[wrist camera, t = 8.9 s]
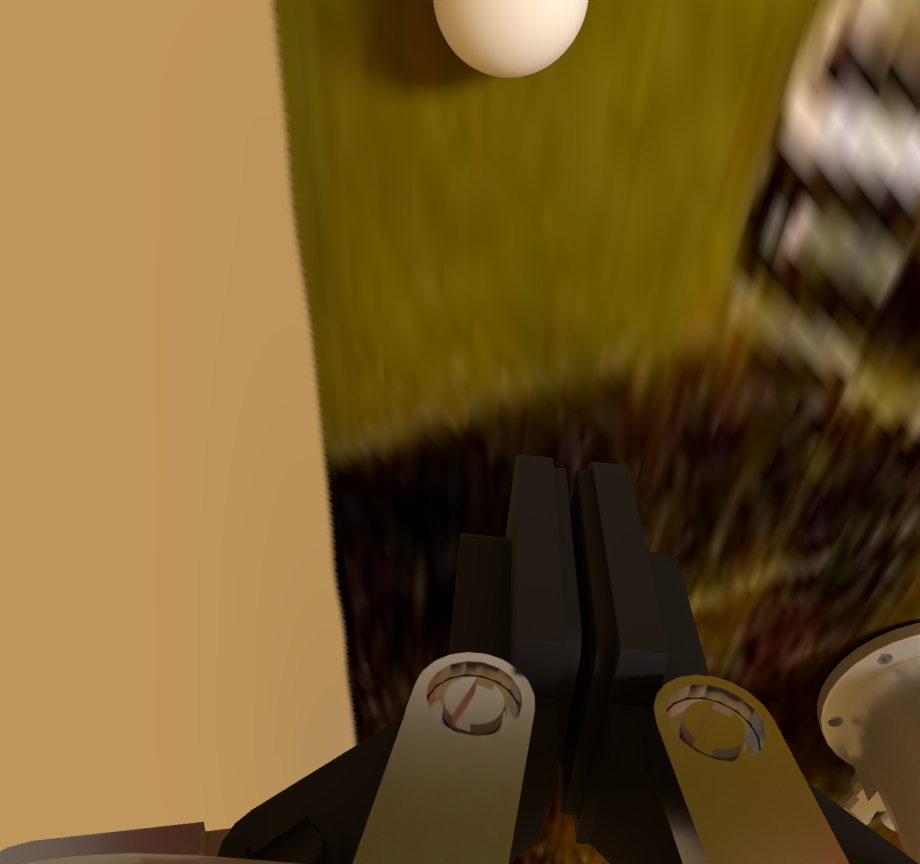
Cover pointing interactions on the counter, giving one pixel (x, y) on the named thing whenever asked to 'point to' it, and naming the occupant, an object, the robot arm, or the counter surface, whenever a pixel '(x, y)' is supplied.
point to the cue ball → (509, 32)
